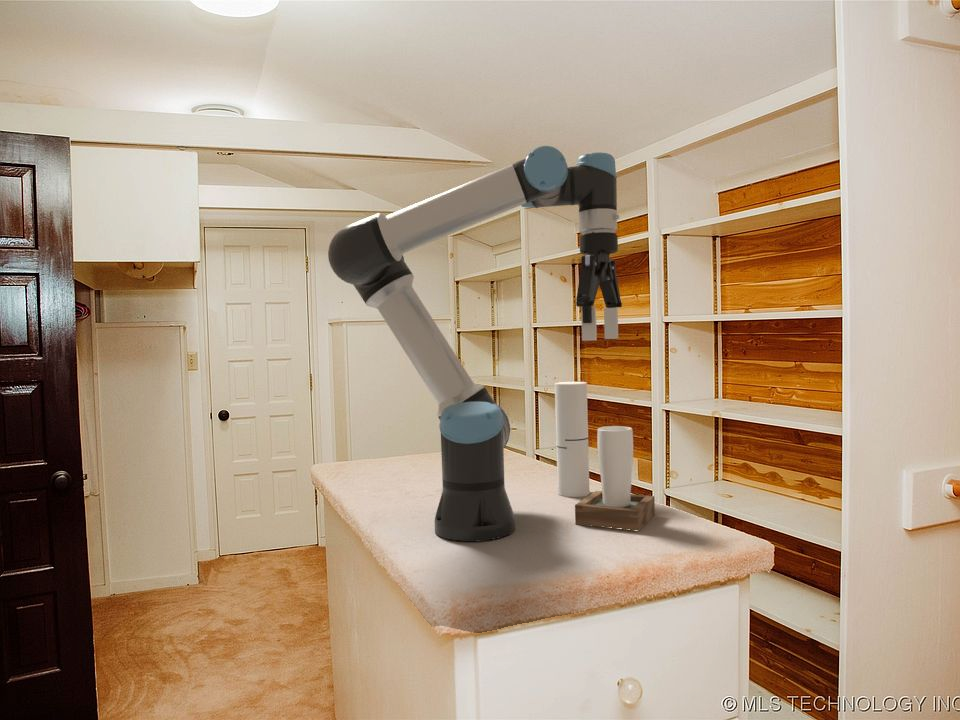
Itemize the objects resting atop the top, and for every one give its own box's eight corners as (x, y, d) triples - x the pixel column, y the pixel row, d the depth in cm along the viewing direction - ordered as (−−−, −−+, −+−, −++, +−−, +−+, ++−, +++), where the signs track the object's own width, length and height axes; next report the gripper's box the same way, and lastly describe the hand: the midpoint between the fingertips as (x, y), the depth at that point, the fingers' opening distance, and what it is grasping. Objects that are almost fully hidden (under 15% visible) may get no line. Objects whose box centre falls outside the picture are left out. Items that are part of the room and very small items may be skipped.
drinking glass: (609, 511, 124) (607, 431, 123) (592, 503, 130) (590, 427, 129) (641, 507, 126) (639, 429, 125) (623, 499, 132) (621, 425, 132)
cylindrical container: (586, 497, 145) (583, 384, 144) (554, 496, 147) (551, 384, 146) (591, 490, 152) (589, 381, 151) (561, 488, 154) (558, 381, 153)
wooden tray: (637, 531, 120) (637, 511, 120) (575, 524, 126) (574, 504, 125) (654, 514, 130) (654, 496, 130) (596, 508, 136) (595, 490, 136)
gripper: (595, 223, 120) (598, 340, 121) (634, 238, 141) (636, 337, 142) (556, 228, 123) (560, 341, 124) (600, 241, 145) (603, 338, 146)
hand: (600, 339), depth 133 cm, fingers open, 13 cm apart
